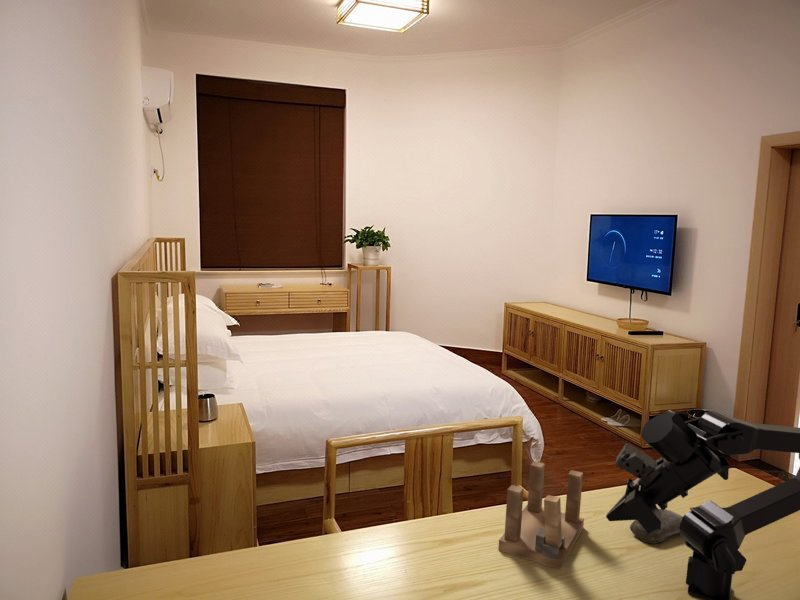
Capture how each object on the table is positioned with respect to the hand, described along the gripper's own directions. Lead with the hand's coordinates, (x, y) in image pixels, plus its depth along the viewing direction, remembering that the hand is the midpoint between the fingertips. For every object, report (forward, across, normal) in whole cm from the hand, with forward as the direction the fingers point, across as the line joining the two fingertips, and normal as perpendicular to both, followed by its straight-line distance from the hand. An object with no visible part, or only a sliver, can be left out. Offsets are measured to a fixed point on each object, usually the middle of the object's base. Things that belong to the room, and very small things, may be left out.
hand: (607, 518), depth 107 cm
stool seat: (+16, -7, -1) cm, 18 cm away
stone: (+2, -22, +14) cm, 26 cm away
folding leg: (+12, +1, -1) cm, 12 cm away
